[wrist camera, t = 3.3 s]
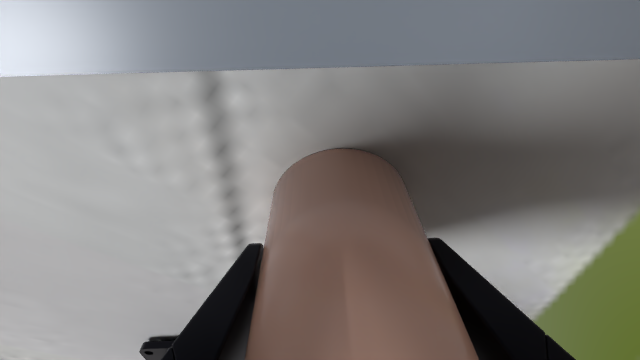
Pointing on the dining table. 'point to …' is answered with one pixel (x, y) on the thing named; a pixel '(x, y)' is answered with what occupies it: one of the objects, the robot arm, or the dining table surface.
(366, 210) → the cylinder
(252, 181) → the dining table surface
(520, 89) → the dining table surface
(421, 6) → the tray
